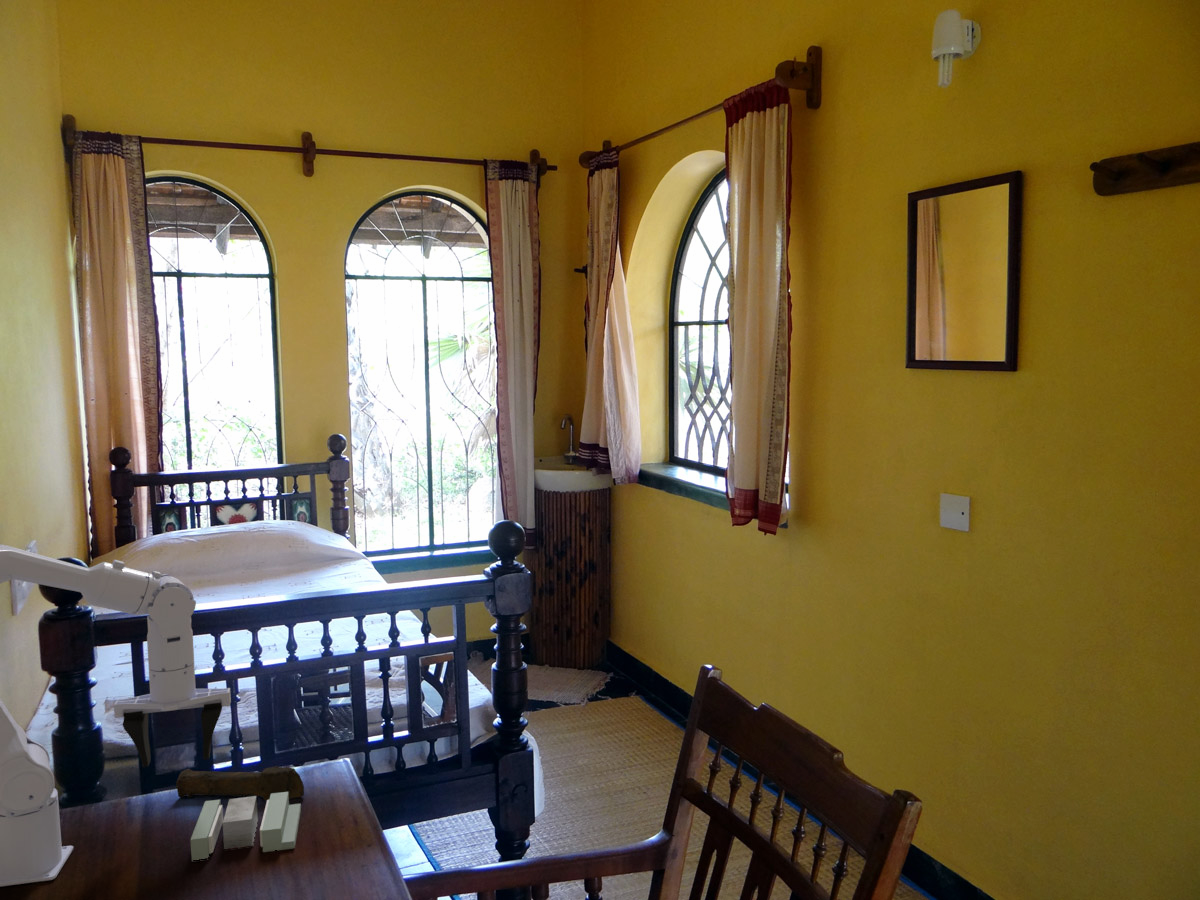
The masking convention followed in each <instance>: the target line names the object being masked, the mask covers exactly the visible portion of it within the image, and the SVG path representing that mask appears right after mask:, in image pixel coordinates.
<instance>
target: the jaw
mask: <svg viewBox="0 0 1200 900" xmlns="http://www.w3.org/2000/svg"><path fill="white" fill-rule="evenodd" d="M223 808H224V807H223V804H221V799H214V800H205V801H204V803H203V806H202V809H201V811H200V814H199V817H198V818H197V821H196V825H195V827H194V829H193V831H192V835H191V837H190V851H191V853H190V854H191V862H194V861H193V860H199V859H205V858H208V857H209V858H210V856H209V854H210V855H211V854H212V853H213V852H214V849H215V847H216V844H217V842H218V838H219V835H220V831H221V828H222V827H223V820H224V810H223Z"/></svg>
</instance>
